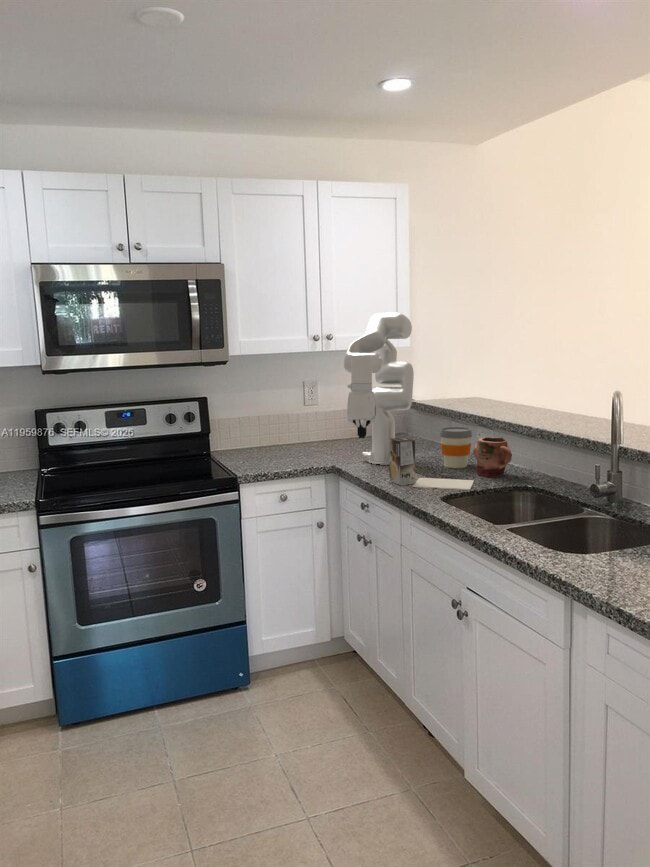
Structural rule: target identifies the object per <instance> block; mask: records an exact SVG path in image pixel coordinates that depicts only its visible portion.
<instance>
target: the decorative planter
mask: <svg viewBox="0 0 650 867" xmlns="http://www.w3.org/2000/svg"><path fill="white" fill-rule="evenodd" d="M472 454H473V456H474V457H475V459H476V465H475V466H476V474H477V475H479V476H481V477H483V478H496V477H502V476H503V475H504V473H505V470H506V468H507V465H508V464H510V462H511V461H512V458H513V454H512V451H511V449H510V447H509V445H508V441H507V439H505V438H504V437H481V438H479V439H478V440H477V442H476V444H475V447H474V448H473V450H472Z"/></svg>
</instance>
